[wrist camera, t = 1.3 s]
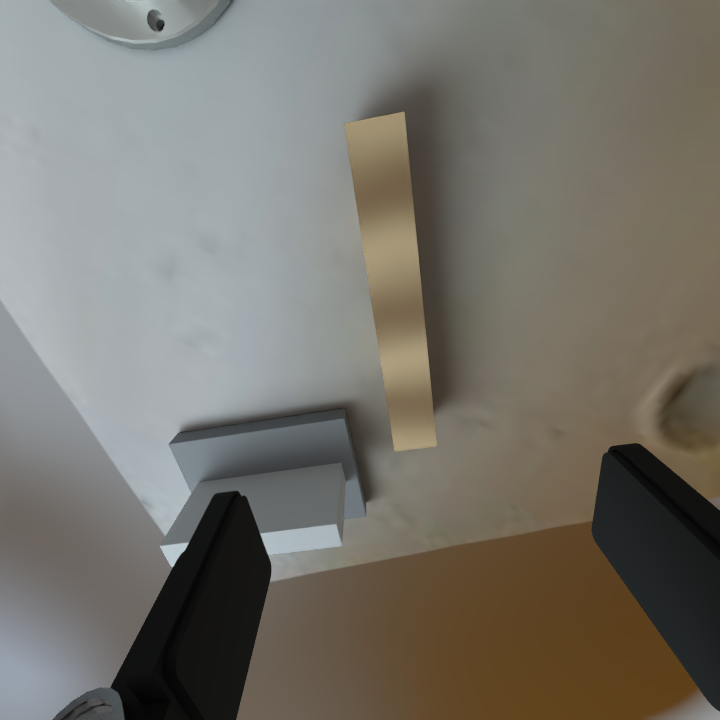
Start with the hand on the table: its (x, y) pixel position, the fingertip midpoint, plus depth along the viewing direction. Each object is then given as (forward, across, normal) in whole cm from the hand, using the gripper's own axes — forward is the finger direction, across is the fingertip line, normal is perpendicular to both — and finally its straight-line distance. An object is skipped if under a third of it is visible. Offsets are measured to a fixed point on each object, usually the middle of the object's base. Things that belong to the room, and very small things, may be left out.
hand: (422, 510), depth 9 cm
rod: (+17, -1, -2) cm, 17 cm away
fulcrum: (+17, +11, +12) cm, 23 cm away
